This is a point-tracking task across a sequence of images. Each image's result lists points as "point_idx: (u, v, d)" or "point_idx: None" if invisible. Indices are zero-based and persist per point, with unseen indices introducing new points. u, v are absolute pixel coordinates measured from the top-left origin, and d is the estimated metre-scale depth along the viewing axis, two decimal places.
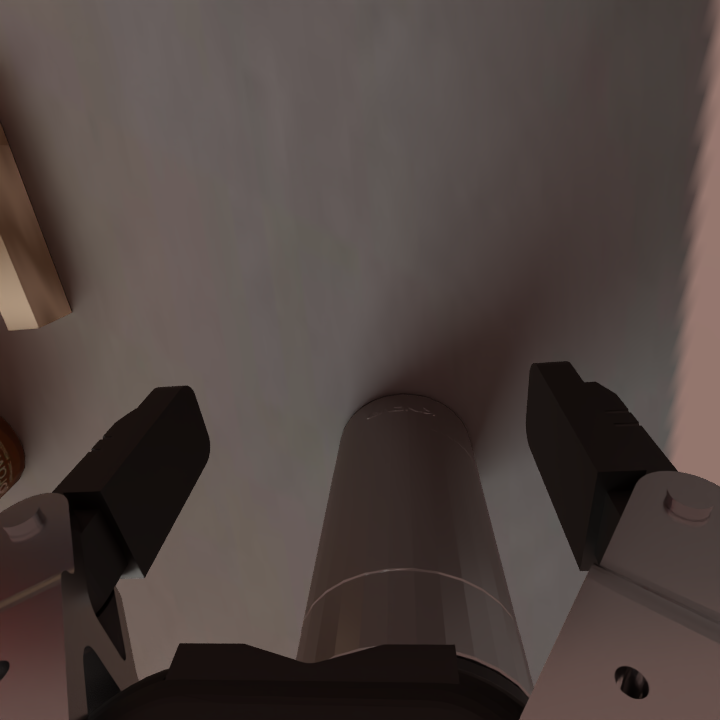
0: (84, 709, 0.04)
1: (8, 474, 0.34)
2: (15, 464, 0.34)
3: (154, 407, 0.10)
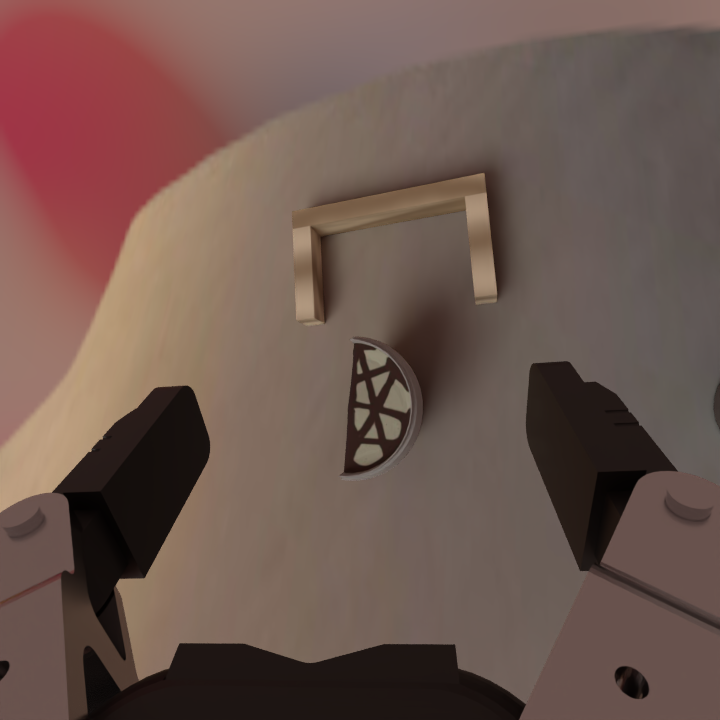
0: (84, 709, 0.04)
1: None
2: None
3: (154, 407, 0.10)
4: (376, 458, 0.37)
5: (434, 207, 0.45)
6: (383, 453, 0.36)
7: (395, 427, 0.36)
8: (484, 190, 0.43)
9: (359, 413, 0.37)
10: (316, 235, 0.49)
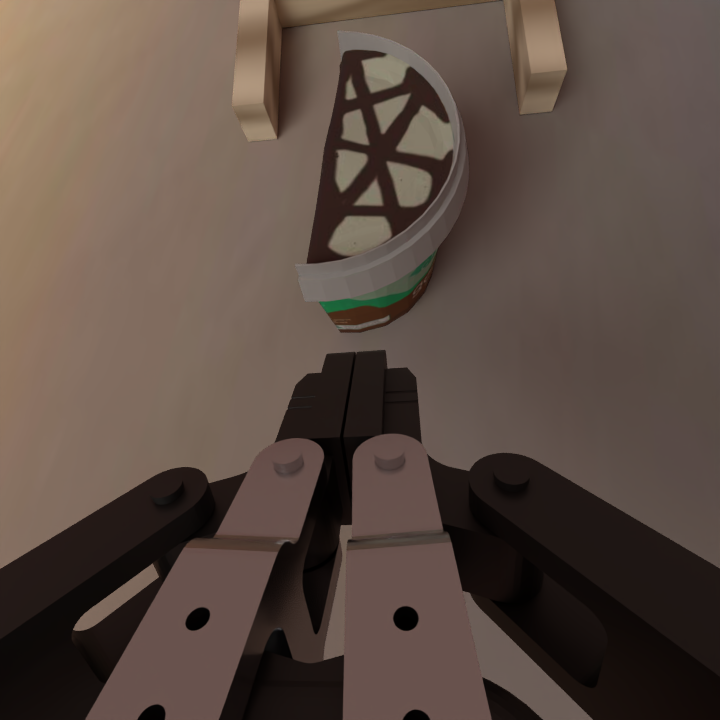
0: (241, 710, 0.04)
1: (432, 267, 0.25)
2: (432, 269, 0.26)
3: (339, 370, 0.10)
4: (377, 241, 0.17)
5: None
6: (393, 232, 0.17)
7: (419, 185, 0.18)
8: None
9: (347, 159, 0.18)
10: (276, 14, 0.32)
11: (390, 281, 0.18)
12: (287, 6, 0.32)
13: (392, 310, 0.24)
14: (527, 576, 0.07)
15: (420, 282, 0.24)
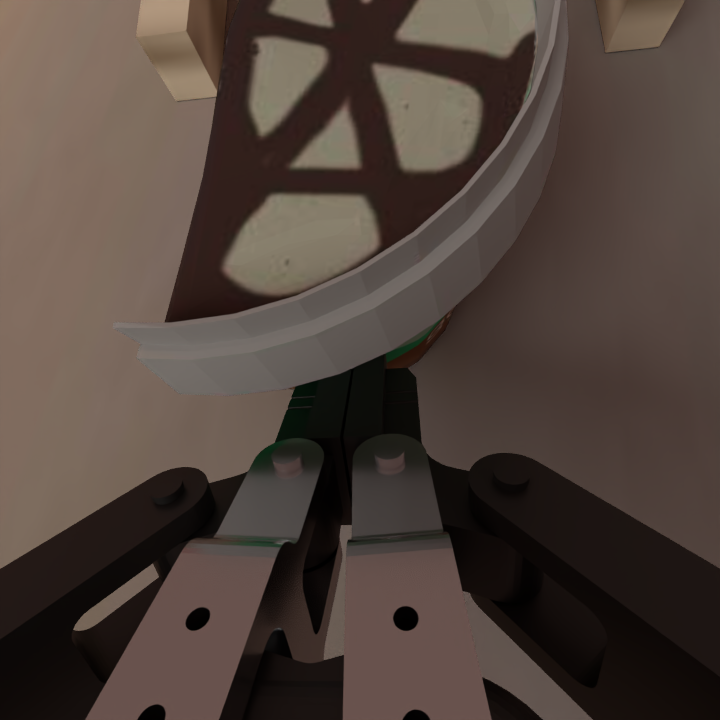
0: (241, 710, 0.04)
1: None
2: None
3: None
4: (343, 259, 0.07)
5: None
6: (383, 234, 0.07)
7: (450, 119, 0.07)
8: None
9: (279, 59, 0.08)
10: None
11: (377, 353, 0.08)
12: None
13: (389, 367, 0.14)
14: (527, 576, 0.07)
15: (441, 320, 0.13)
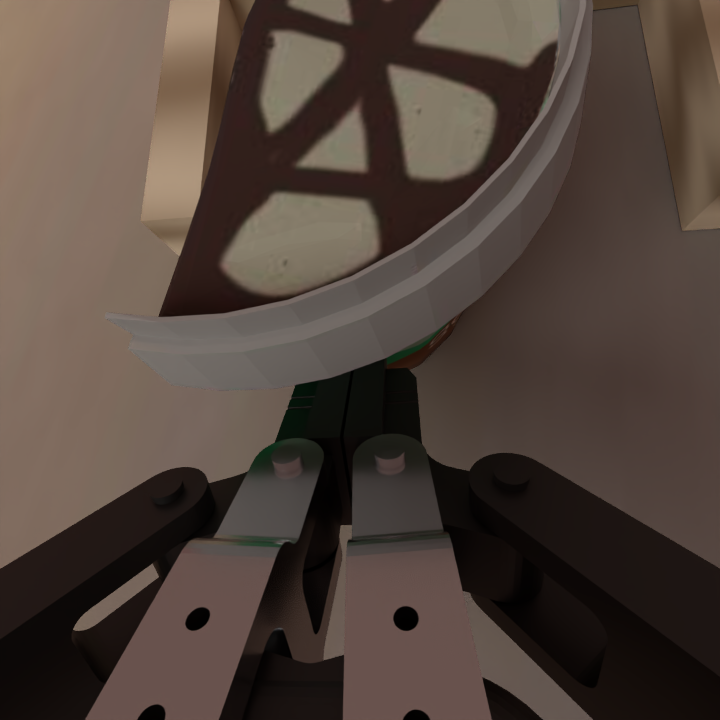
0: (241, 710, 0.04)
1: None
2: None
3: None
4: (342, 264, 0.07)
5: None
6: (383, 242, 0.07)
7: (462, 128, 0.07)
8: None
9: (295, 55, 0.08)
10: (239, 32, 0.19)
11: (370, 360, 0.07)
12: None
13: None
14: (527, 576, 0.07)
15: (445, 326, 0.13)
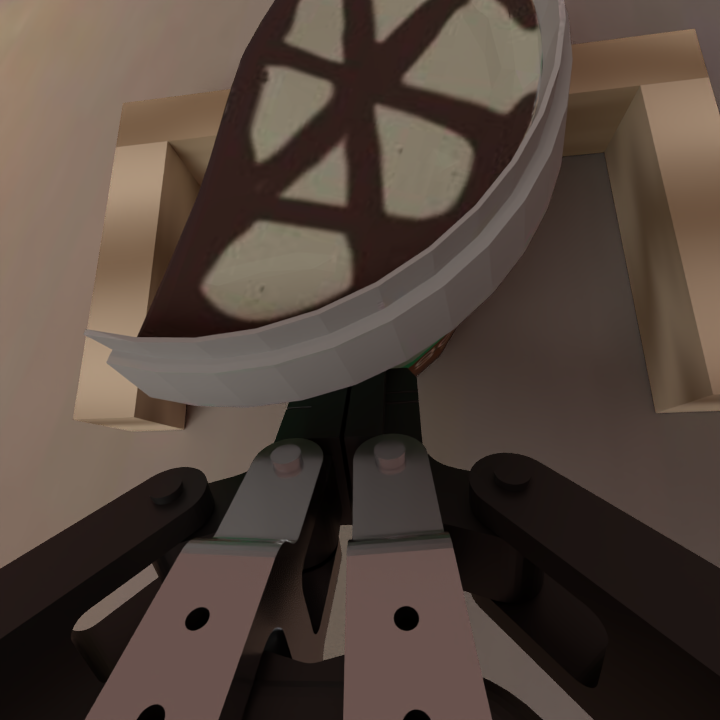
0: (241, 710, 0.04)
1: None
2: None
3: None
4: (315, 294, 0.07)
5: None
6: (356, 275, 0.07)
7: (439, 169, 0.07)
8: (702, 72, 0.14)
9: (286, 89, 0.08)
10: (190, 181, 0.18)
11: (340, 385, 0.08)
12: None
13: None
14: (528, 576, 0.07)
15: (430, 349, 0.13)
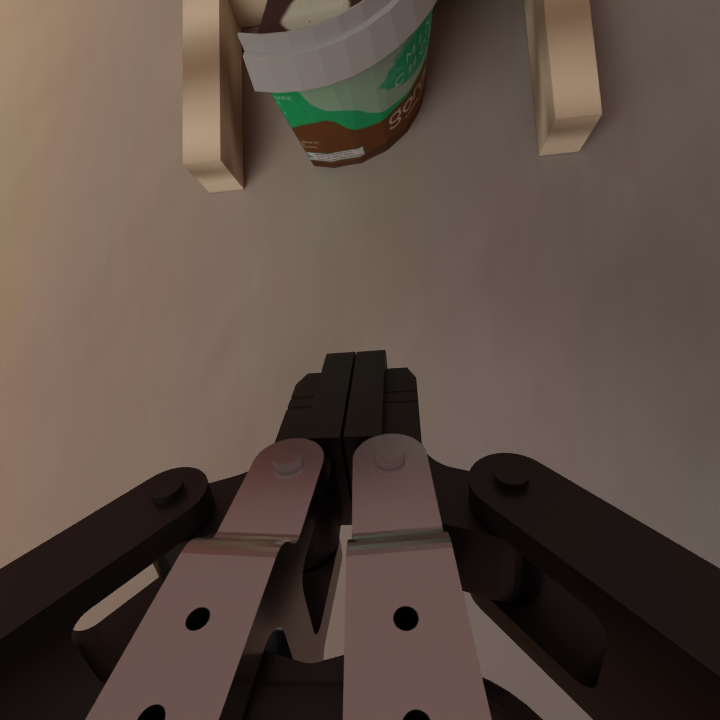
0: (241, 710, 0.04)
1: (416, 98, 0.23)
2: (418, 102, 0.24)
3: (339, 370, 0.10)
4: None
5: None
6: None
7: None
8: None
9: None
10: (232, 15, 0.25)
11: (346, 75, 0.17)
12: (244, 4, 0.25)
13: (365, 139, 0.23)
14: (528, 576, 0.07)
15: (397, 108, 0.22)
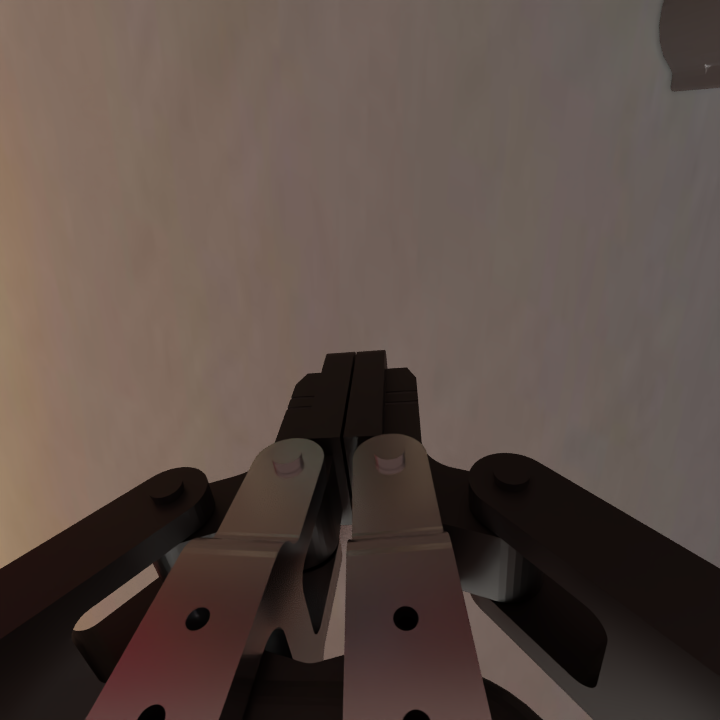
0: (241, 709, 0.04)
1: None
2: None
3: (339, 370, 0.10)
4: None
5: None
6: None
7: None
8: None
9: None
10: None
11: None
12: None
13: None
14: (527, 577, 0.07)
15: None
